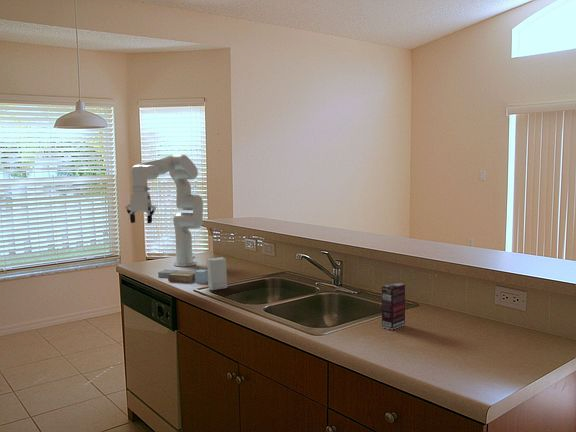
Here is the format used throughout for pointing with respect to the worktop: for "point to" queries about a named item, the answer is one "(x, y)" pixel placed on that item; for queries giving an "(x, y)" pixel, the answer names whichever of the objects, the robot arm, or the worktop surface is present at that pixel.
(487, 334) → the worktop surface
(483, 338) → the worktop surface
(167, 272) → the slate coaster
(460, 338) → the worktop surface
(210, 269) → the skincare box
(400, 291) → the supplement box
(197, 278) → the blue block
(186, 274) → the walnut slab
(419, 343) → the worktop surface
